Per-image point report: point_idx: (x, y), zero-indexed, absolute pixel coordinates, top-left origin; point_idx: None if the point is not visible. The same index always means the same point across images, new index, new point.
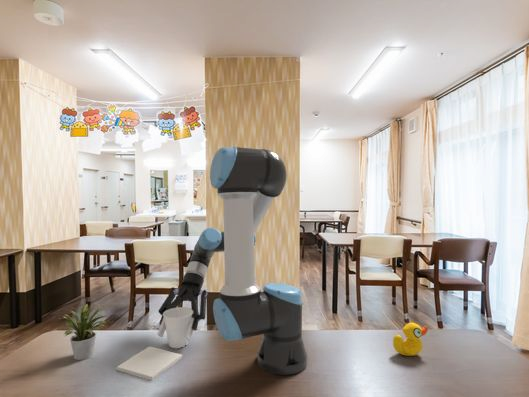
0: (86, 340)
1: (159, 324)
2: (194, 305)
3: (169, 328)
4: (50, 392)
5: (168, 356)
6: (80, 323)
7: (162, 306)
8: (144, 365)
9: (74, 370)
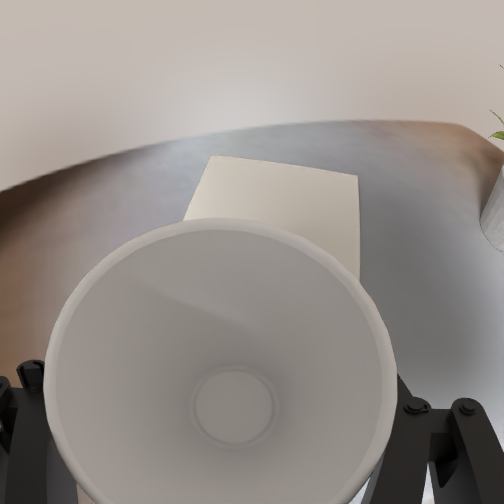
0: (501, 170)
1: None
2: (21, 479)
3: (253, 298)
4: (405, 120)
5: None
6: None
7: (485, 441)
8: (274, 191)
9: (448, 174)
